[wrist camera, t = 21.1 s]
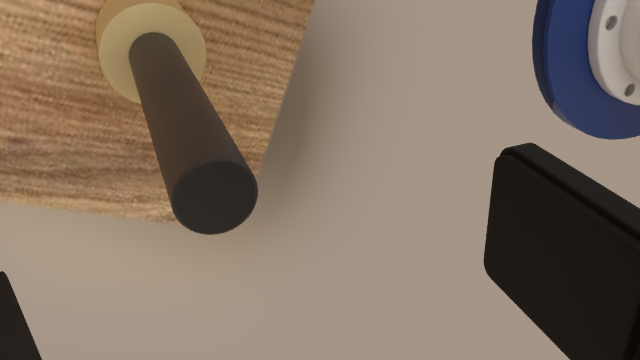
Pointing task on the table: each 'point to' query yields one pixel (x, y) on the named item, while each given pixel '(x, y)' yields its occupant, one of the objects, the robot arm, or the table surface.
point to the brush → (176, 110)
